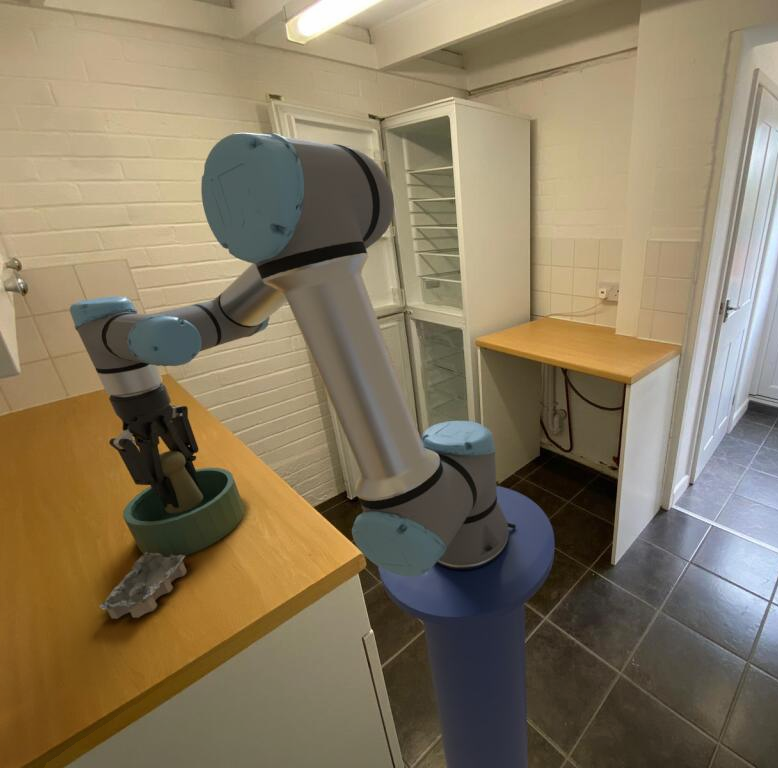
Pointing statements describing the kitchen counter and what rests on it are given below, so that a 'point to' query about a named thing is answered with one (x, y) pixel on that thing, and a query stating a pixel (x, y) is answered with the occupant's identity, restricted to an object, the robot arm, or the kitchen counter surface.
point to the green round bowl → (186, 517)
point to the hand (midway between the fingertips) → (183, 498)
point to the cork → (180, 481)
